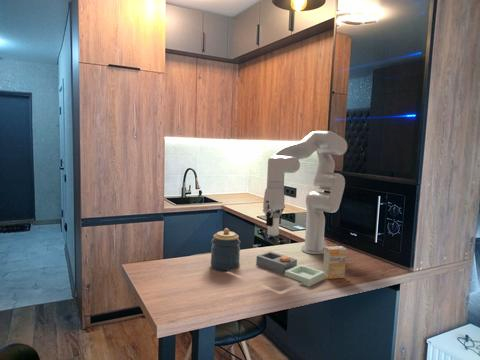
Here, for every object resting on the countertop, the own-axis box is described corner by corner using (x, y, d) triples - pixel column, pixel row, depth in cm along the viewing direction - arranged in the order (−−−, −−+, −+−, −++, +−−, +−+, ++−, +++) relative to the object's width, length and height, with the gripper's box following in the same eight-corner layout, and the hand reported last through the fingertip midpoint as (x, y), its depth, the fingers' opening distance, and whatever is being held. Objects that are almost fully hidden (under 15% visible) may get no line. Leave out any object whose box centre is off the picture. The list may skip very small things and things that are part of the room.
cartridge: (272, 231, 166) (273, 210, 165) (281, 234, 162) (282, 212, 161) (264, 233, 162) (265, 212, 161) (274, 236, 159) (275, 214, 157)
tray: (300, 270, 160) (300, 264, 160) (324, 278, 152) (324, 271, 152) (284, 277, 151) (284, 270, 151) (309, 286, 143) (309, 279, 143)
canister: (236, 273, 154) (237, 233, 151) (206, 270, 156) (208, 230, 154) (241, 263, 166) (243, 226, 164) (214, 260, 169) (216, 223, 167)
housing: (269, 261, 170) (270, 251, 170) (296, 270, 160) (296, 259, 160) (256, 266, 163) (256, 255, 163) (283, 276, 153) (283, 264, 152)
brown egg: (283, 265, 162) (283, 255, 161) (291, 268, 159) (292, 258, 158) (277, 268, 158) (277, 257, 158) (285, 270, 156) (286, 260, 155)
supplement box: (327, 279, 151) (329, 249, 150) (321, 275, 156) (324, 246, 154) (344, 278, 154) (347, 248, 152) (338, 274, 158) (341, 245, 157)
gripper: (280, 182, 168) (278, 220, 170) (256, 185, 156) (254, 226, 158) (293, 184, 163) (291, 223, 165) (270, 187, 151) (268, 229, 153)
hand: (273, 224), depth 162 cm, fingers closed on cartridge, 5 cm apart
